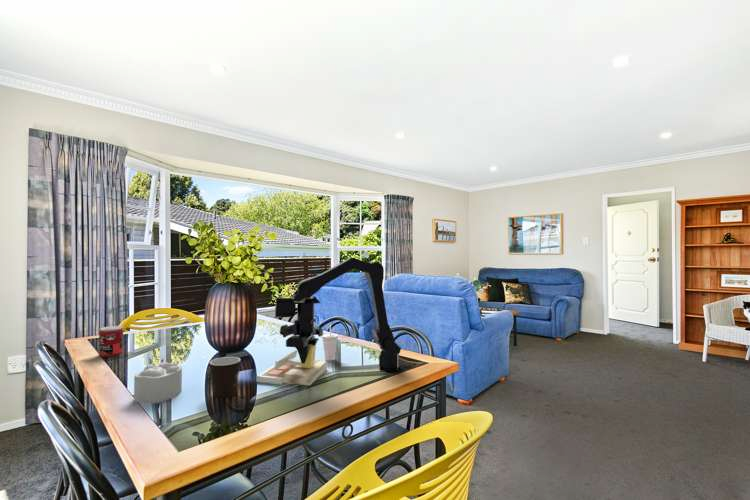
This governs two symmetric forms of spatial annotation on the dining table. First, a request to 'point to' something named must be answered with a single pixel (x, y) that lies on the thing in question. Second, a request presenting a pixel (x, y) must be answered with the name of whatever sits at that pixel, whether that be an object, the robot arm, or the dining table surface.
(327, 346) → the smoothie
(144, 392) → the lumpy-topped squat cylinder
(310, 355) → the scraper
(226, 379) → the coffee mug
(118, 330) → the canned food
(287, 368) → the tile
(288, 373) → the shallow cream open box
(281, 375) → the tile
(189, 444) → the dining table surface
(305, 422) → the dining table surface
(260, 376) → the tray
